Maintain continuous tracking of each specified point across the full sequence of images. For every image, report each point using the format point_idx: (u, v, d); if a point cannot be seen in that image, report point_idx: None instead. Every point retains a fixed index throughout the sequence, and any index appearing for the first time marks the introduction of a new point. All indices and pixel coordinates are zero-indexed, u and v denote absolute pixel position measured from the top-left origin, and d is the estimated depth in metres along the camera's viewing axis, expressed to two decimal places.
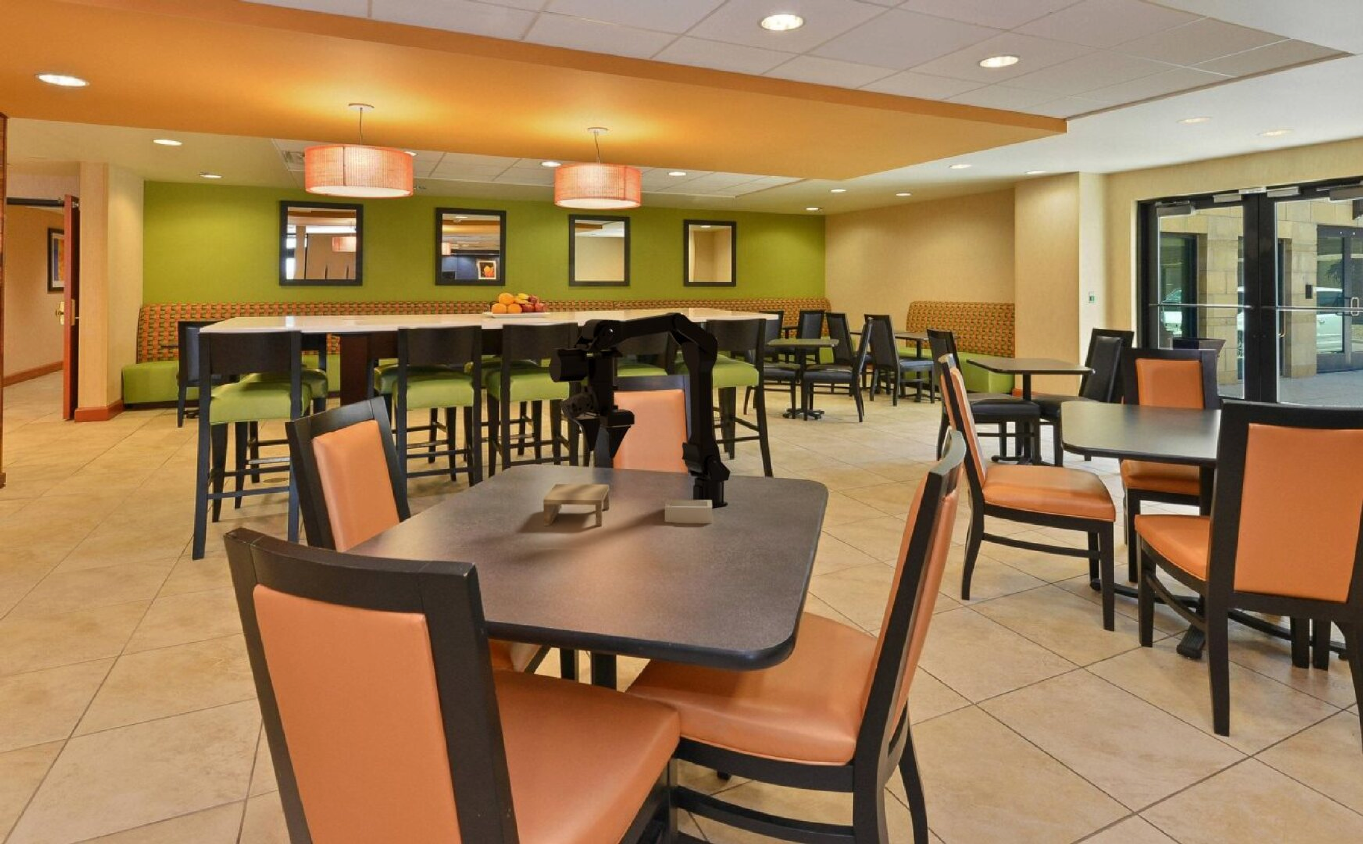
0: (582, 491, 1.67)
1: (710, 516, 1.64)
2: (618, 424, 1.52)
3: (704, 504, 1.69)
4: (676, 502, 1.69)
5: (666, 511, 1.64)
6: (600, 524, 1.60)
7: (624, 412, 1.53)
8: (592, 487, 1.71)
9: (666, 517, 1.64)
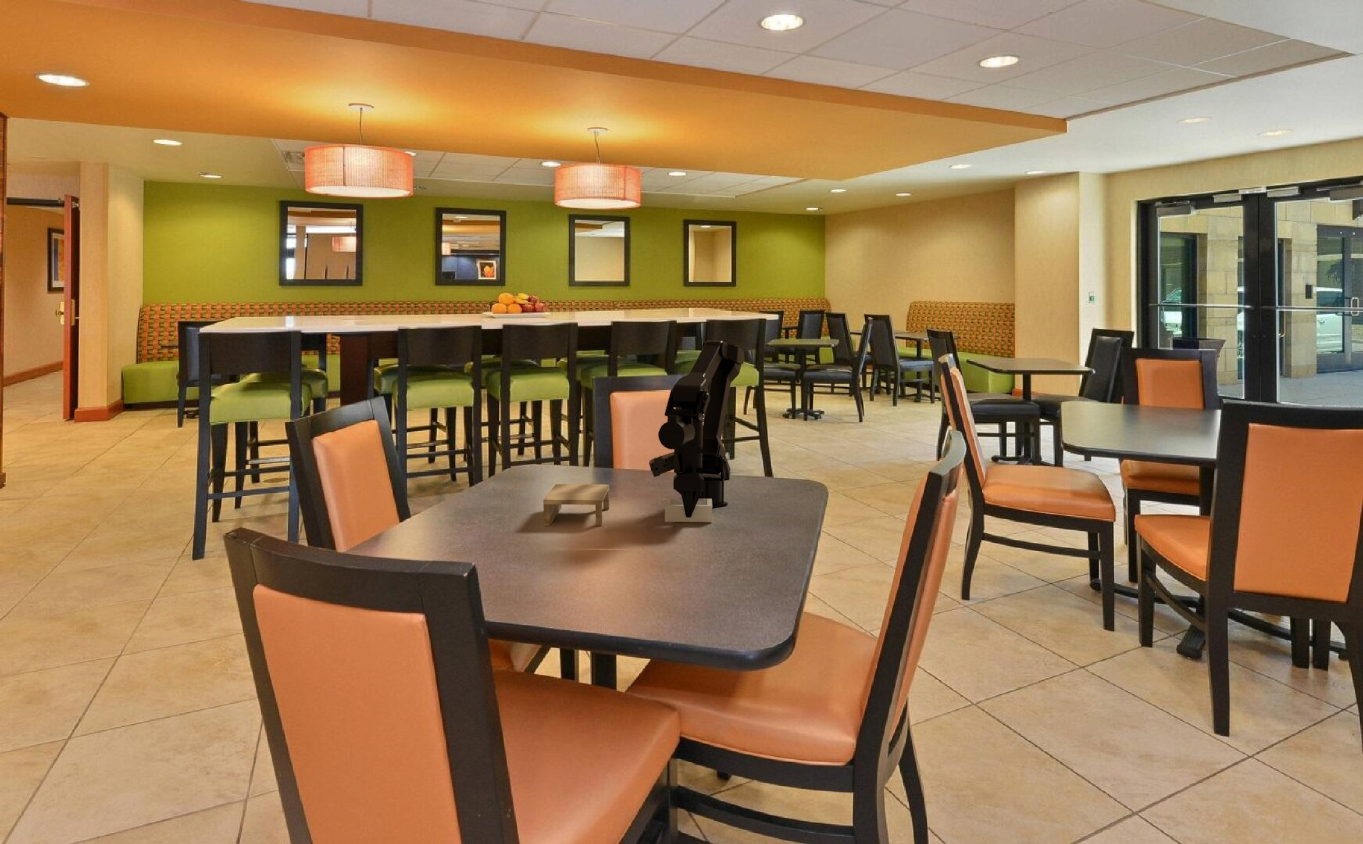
0: (582, 491, 1.67)
1: (710, 515, 1.63)
2: (683, 488, 1.57)
3: (704, 503, 1.69)
4: (676, 501, 1.69)
5: (666, 510, 1.64)
6: (600, 524, 1.60)
7: (691, 477, 1.57)
8: (592, 487, 1.71)
9: (666, 516, 1.64)
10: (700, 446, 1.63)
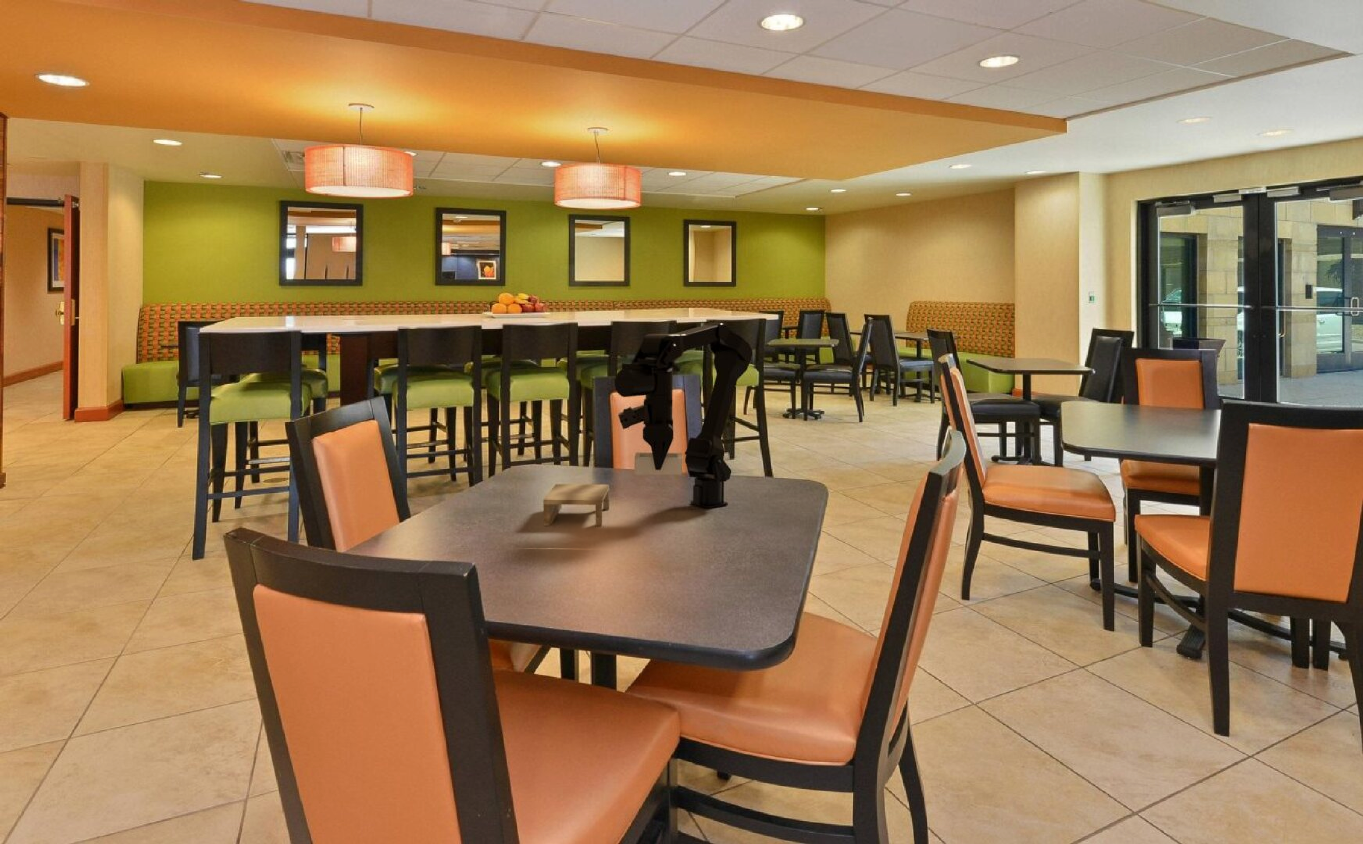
0: (582, 491, 1.67)
1: (680, 467, 1.62)
2: (653, 438, 1.55)
3: (674, 457, 1.67)
4: (646, 455, 1.67)
5: (636, 462, 1.62)
6: (600, 524, 1.60)
7: (661, 426, 1.55)
8: (592, 487, 1.71)
9: (636, 468, 1.62)
10: (670, 398, 1.62)
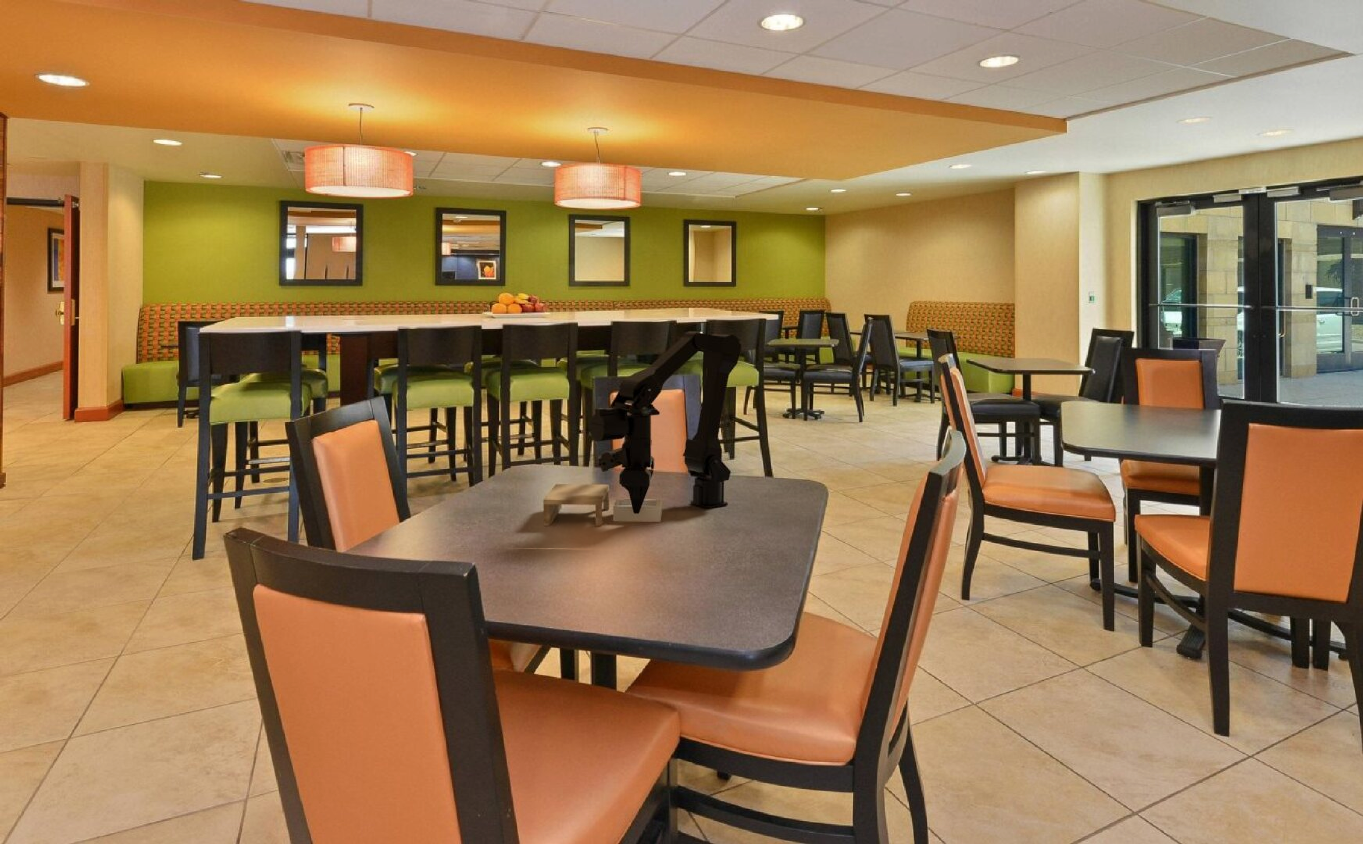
0: (582, 491, 1.67)
1: (658, 515, 1.64)
2: (629, 483, 1.57)
3: (654, 503, 1.69)
4: (626, 501, 1.69)
5: (614, 510, 1.64)
6: (600, 524, 1.60)
7: (637, 472, 1.57)
8: (592, 487, 1.71)
9: (614, 516, 1.64)
10: (648, 441, 1.63)
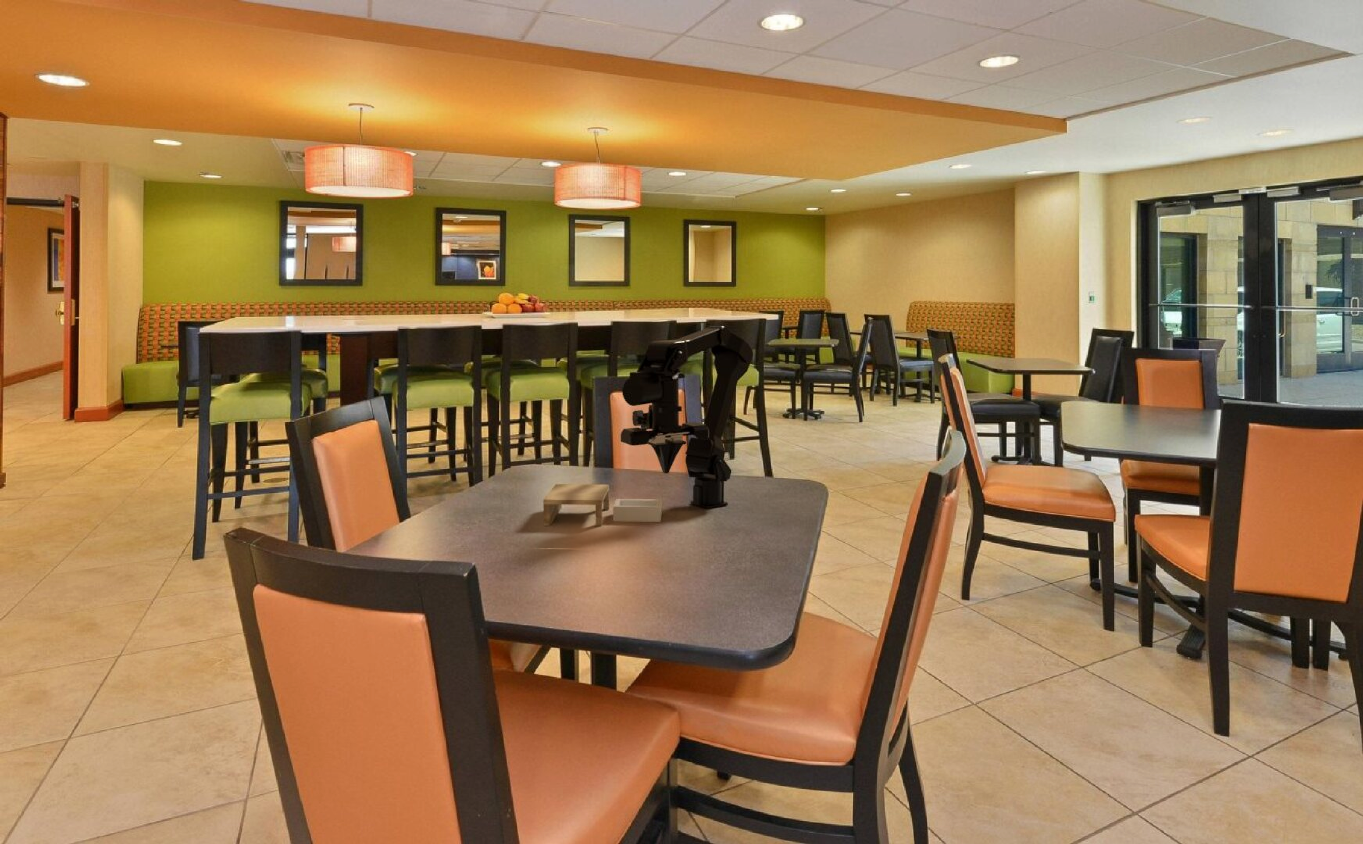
0: (582, 491, 1.67)
1: (658, 516, 1.64)
2: (623, 441, 1.61)
3: (654, 503, 1.69)
4: (626, 501, 1.69)
5: (614, 511, 1.64)
6: (600, 524, 1.60)
7: (628, 431, 1.60)
8: (592, 487, 1.71)
9: (614, 517, 1.64)
10: (664, 406, 1.61)
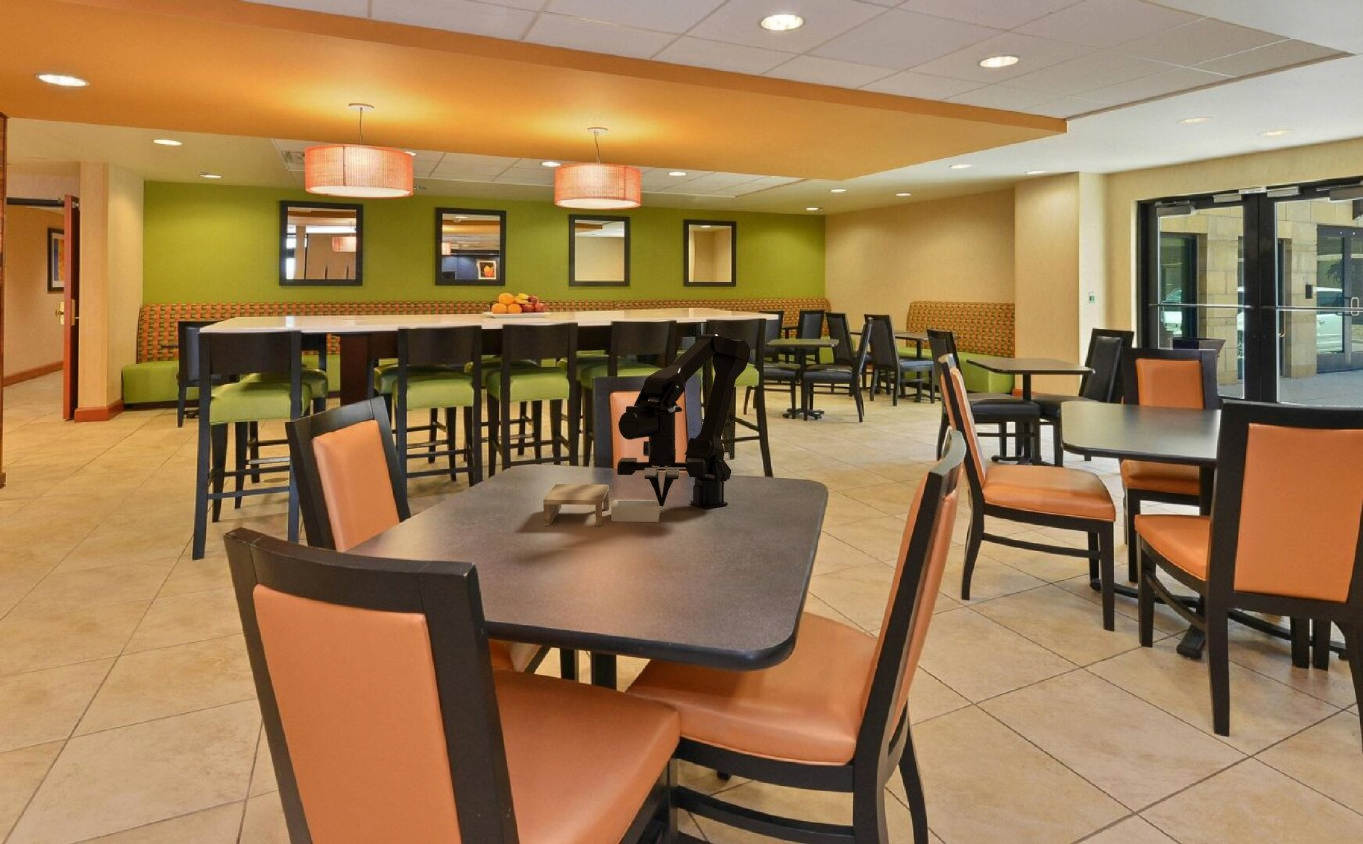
0: (582, 491, 1.67)
1: (656, 516, 1.64)
2: None
3: (652, 504, 1.69)
4: (624, 502, 1.69)
5: (612, 511, 1.64)
6: (600, 524, 1.60)
7: (619, 461, 1.65)
8: (592, 487, 1.71)
9: (612, 517, 1.64)
10: (654, 439, 1.62)
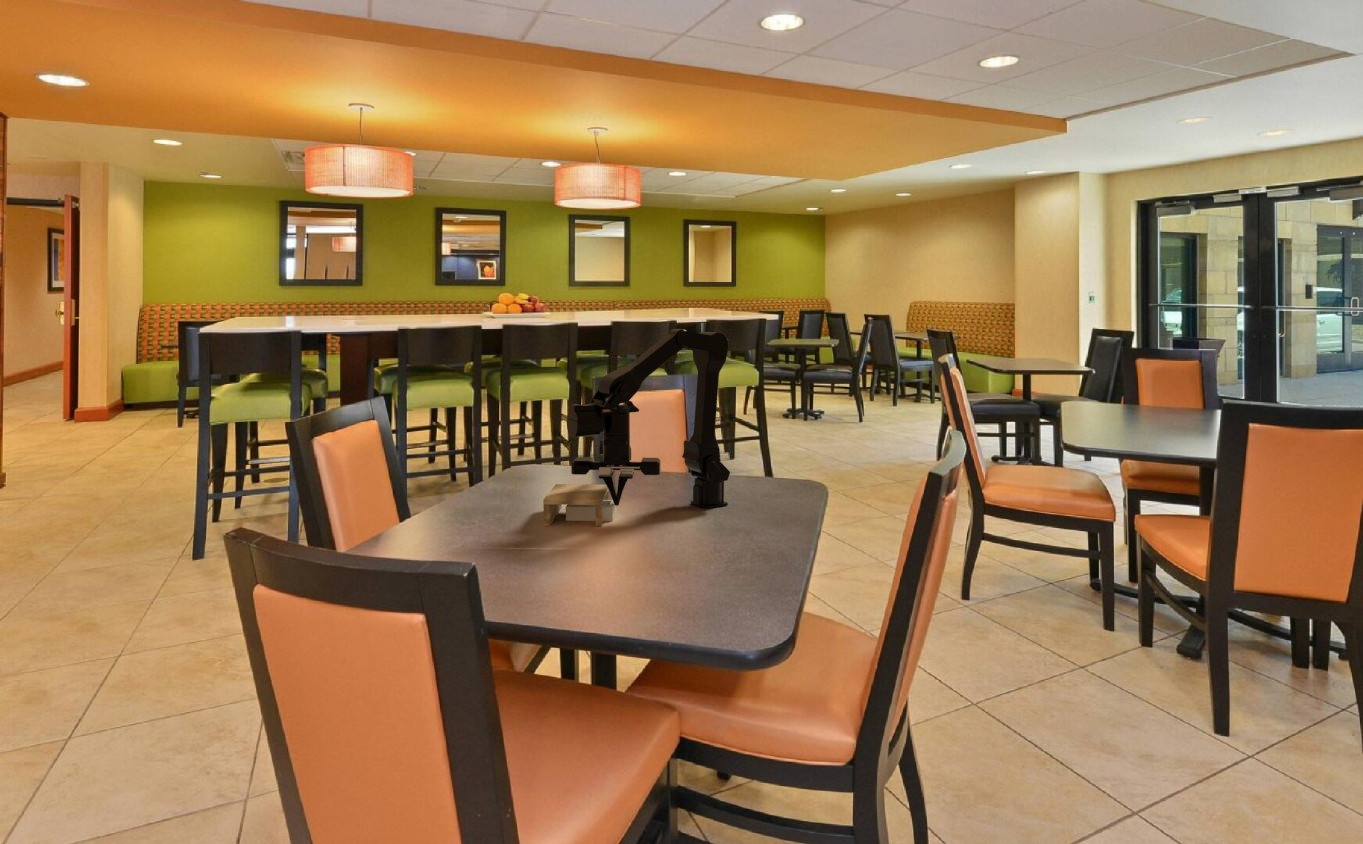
0: (582, 491, 1.67)
1: (611, 516, 1.64)
2: None
3: (608, 504, 1.69)
4: None
5: (567, 511, 1.64)
6: (600, 524, 1.60)
7: (574, 460, 1.65)
8: (592, 487, 1.71)
9: (567, 517, 1.64)
10: (608, 438, 1.62)
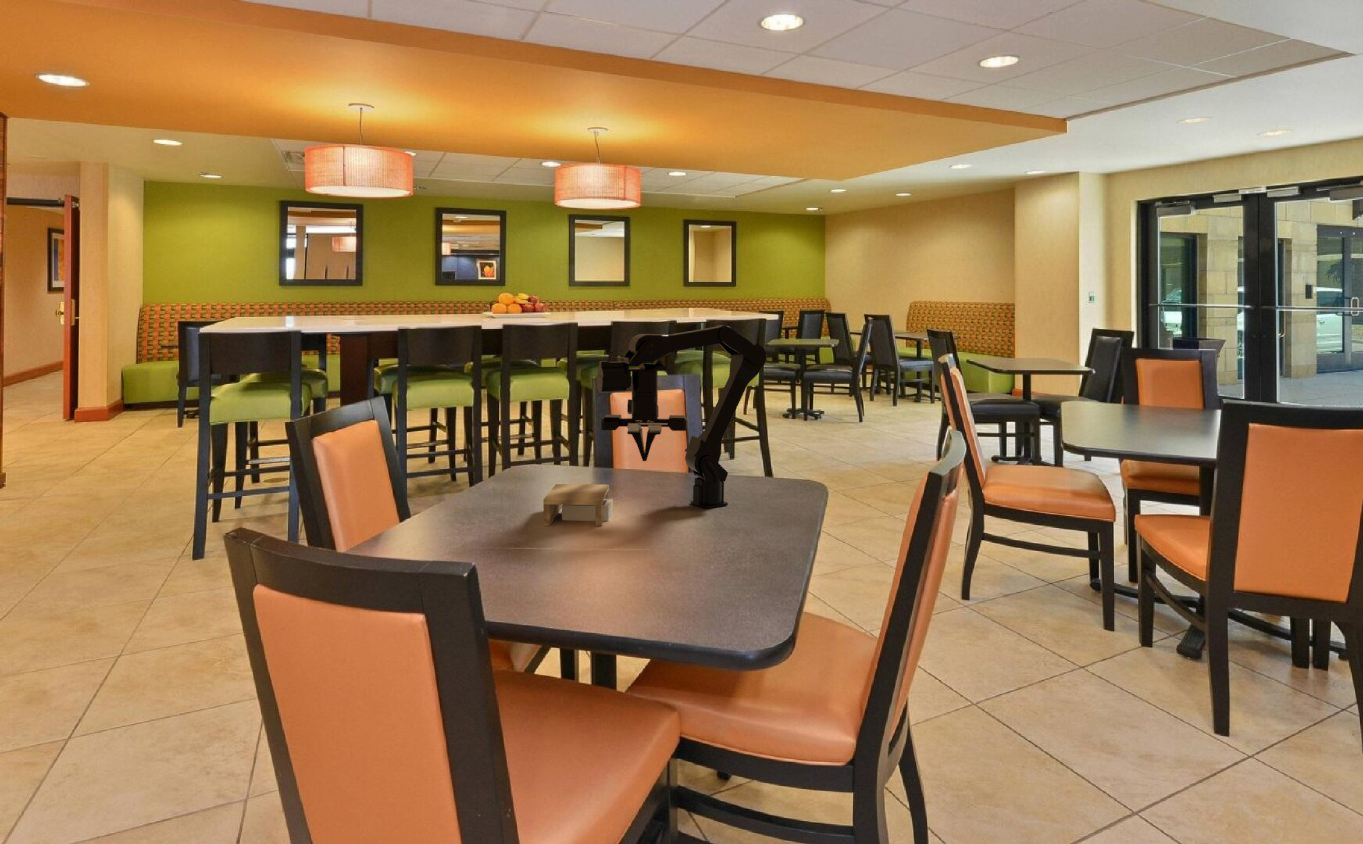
0: (582, 491, 1.67)
1: (606, 515, 1.64)
2: None
3: (605, 503, 1.69)
4: None
5: (563, 509, 1.64)
6: (600, 524, 1.60)
7: (604, 417, 1.71)
8: (592, 487, 1.71)
9: (563, 515, 1.65)
10: (637, 395, 1.68)
